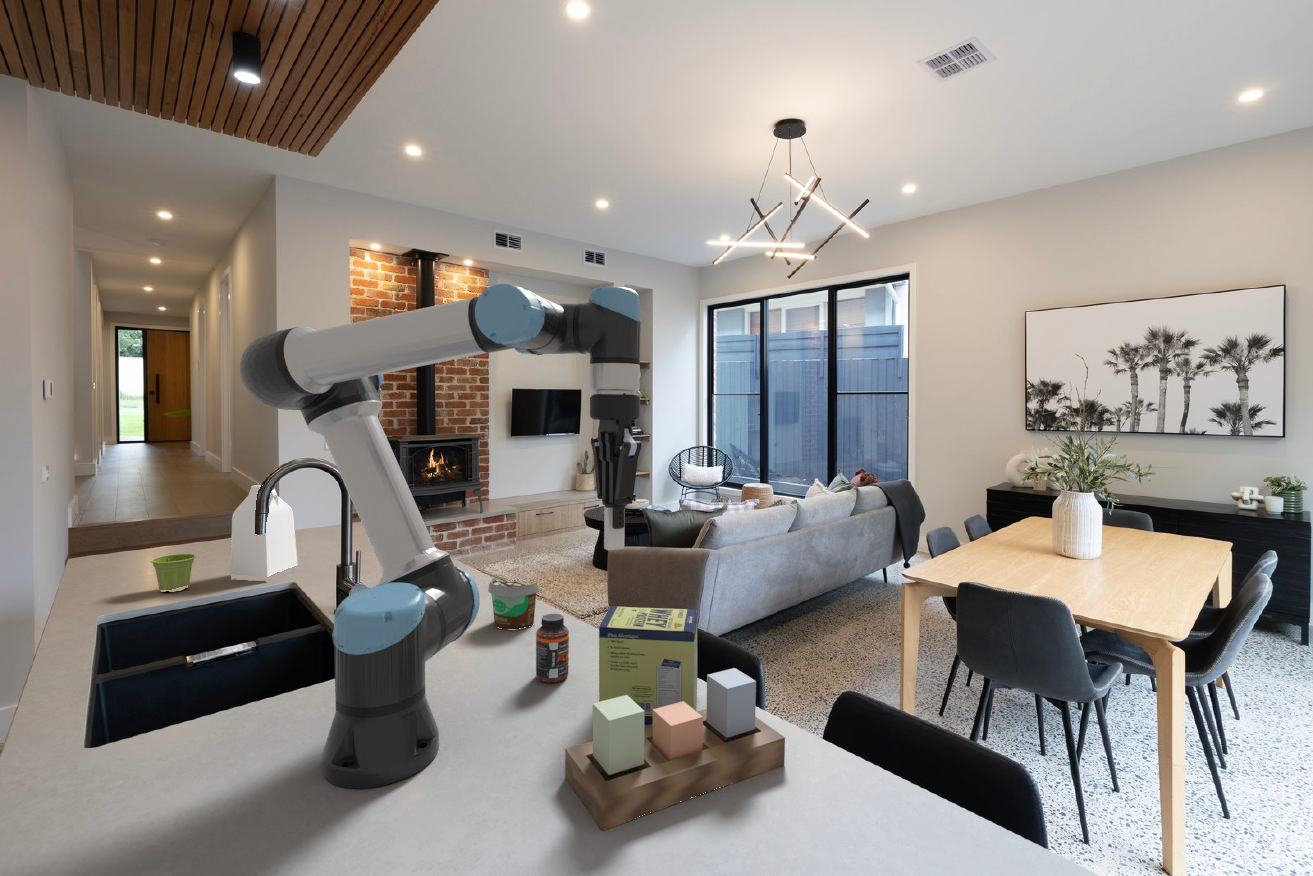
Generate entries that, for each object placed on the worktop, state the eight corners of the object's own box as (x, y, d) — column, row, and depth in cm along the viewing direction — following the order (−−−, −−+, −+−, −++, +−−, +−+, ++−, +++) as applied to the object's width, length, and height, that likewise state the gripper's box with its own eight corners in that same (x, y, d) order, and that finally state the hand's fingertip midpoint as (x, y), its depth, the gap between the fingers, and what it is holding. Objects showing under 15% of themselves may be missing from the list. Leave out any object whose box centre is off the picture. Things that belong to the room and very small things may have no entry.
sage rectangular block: (608, 775, 77) (609, 720, 77) (592, 755, 82) (592, 703, 81) (644, 764, 80) (644, 711, 79) (626, 745, 84) (627, 695, 84)
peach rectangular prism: (670, 777, 82) (671, 726, 81) (652, 758, 86) (652, 709, 86) (702, 766, 84) (702, 716, 84) (682, 748, 89) (683, 701, 88)
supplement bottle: (562, 686, 111) (562, 623, 110) (530, 682, 112) (530, 621, 111) (573, 671, 117) (573, 612, 116) (543, 668, 118) (543, 610, 117)
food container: (476, 627, 139) (476, 583, 138) (493, 618, 145) (493, 576, 144) (523, 635, 134) (523, 590, 134) (539, 626, 140) (538, 582, 139)
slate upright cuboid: (726, 738, 86) (727, 688, 86) (706, 721, 90) (707, 674, 90) (755, 729, 89) (756, 681, 88) (734, 713, 93) (734, 667, 93)
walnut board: (601, 831, 73) (602, 798, 73) (565, 777, 84) (565, 748, 83) (784, 765, 87) (784, 737, 87) (733, 725, 97) (733, 701, 97)
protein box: (608, 692, 109) (609, 605, 108) (697, 697, 107) (698, 608, 106) (596, 722, 98) (597, 626, 97) (695, 728, 97) (696, 631, 96)
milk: (229, 580, 174) (227, 487, 172) (262, 569, 185) (260, 482, 184) (267, 582, 172) (265, 489, 170) (298, 571, 183) (296, 483, 182)
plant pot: (189, 582, 171) (188, 551, 170) (202, 589, 165) (201, 556, 165) (146, 591, 163) (145, 558, 163) (159, 597, 158) (157, 564, 157)
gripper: (658, 393, 89) (656, 555, 91) (618, 394, 101) (617, 537, 102) (610, 392, 86) (610, 561, 87) (575, 393, 97) (575, 542, 98)
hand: (614, 548), depth 94 cm, fingers closed
